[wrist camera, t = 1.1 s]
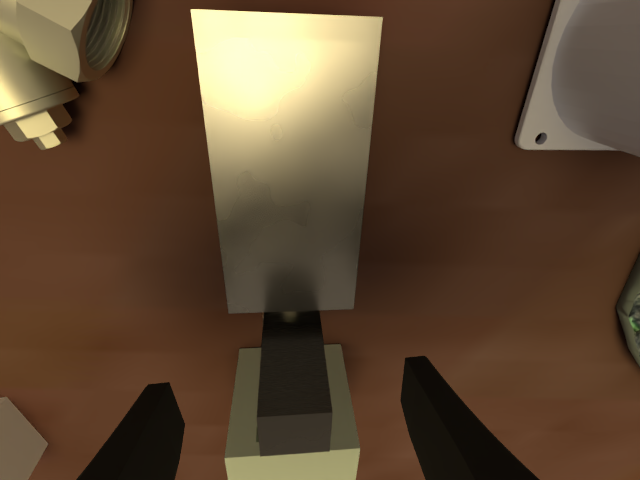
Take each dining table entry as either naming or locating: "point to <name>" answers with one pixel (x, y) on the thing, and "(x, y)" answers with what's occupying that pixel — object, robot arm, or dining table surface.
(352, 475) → the socket block
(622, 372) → the dining table surface
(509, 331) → the dining table surface
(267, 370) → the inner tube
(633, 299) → the tree stump
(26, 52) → the pipe fitting
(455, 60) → the dining table surface
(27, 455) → the cream white cube
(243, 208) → the grey boxy piece
